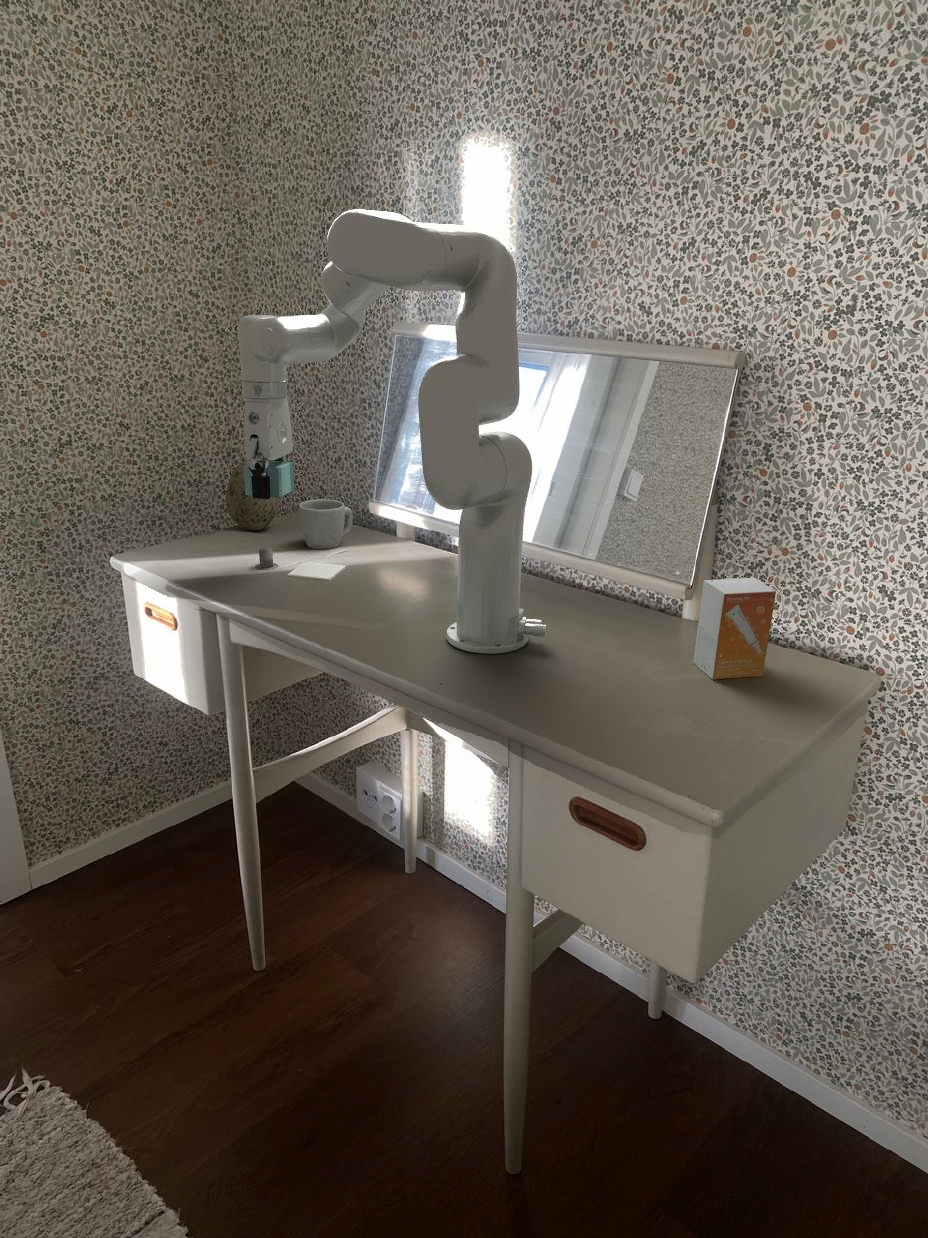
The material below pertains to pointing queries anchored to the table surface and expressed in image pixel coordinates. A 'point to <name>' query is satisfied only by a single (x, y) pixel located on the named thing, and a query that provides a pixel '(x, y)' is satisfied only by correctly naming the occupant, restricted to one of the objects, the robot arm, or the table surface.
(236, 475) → the decorative egg
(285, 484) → the c link
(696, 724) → the table surface
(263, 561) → the stand
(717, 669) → the small box
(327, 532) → the mug
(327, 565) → the pad
